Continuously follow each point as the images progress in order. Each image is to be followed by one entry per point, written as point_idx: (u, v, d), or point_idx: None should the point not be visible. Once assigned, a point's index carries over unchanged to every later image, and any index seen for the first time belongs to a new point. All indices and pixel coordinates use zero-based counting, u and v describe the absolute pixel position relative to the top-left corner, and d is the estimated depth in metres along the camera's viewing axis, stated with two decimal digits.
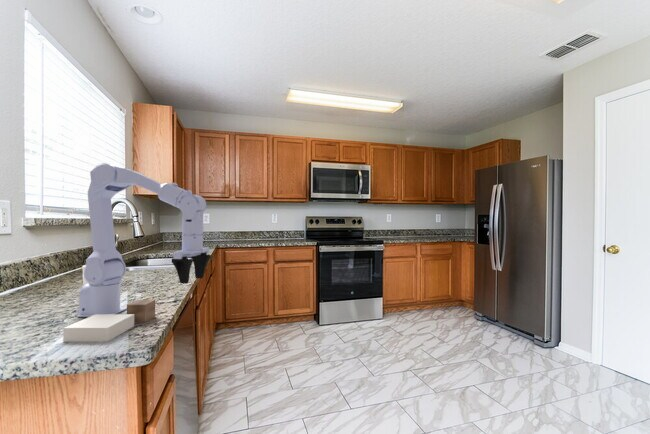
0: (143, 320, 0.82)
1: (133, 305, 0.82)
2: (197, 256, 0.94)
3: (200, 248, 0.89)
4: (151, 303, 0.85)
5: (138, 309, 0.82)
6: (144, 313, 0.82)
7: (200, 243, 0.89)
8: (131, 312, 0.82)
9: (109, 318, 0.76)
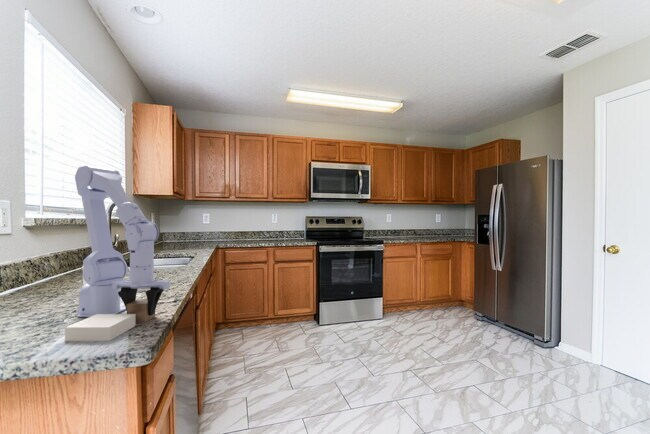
0: (143, 320, 0.82)
1: (133, 305, 0.82)
2: None
3: (134, 282, 0.81)
4: None
5: (138, 309, 0.82)
6: (144, 312, 0.82)
7: (134, 276, 0.82)
8: (131, 312, 0.82)
9: (110, 318, 0.76)
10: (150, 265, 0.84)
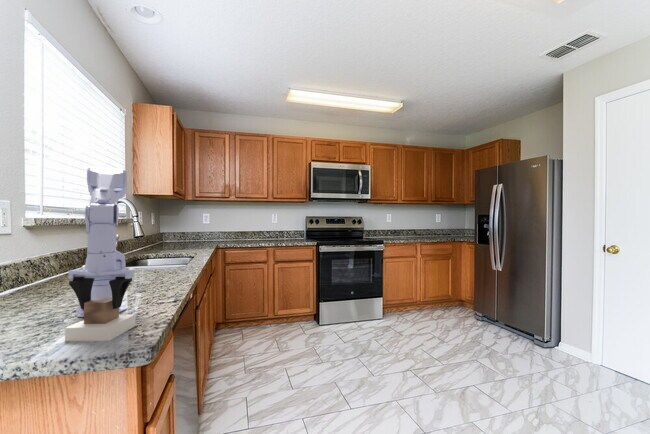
0: (103, 320, 0.72)
1: (91, 303, 0.72)
2: None
3: (91, 270, 0.71)
4: None
5: (97, 308, 0.72)
6: (104, 312, 0.72)
7: (91, 264, 0.71)
8: (89, 311, 0.72)
9: None
10: (111, 251, 0.74)
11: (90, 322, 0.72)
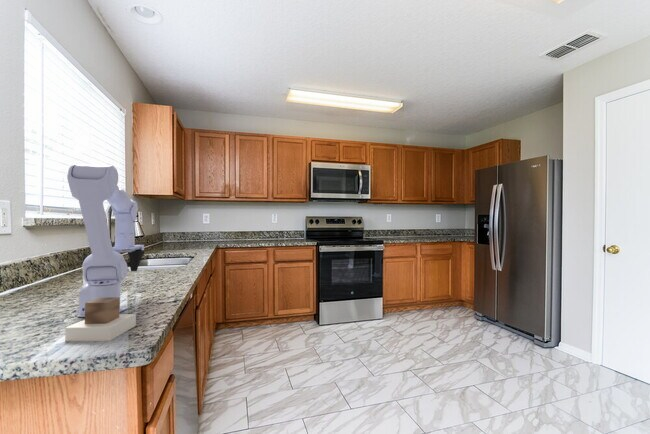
0: (104, 320, 0.72)
1: (93, 303, 0.72)
2: (132, 252, 1.09)
3: (130, 245, 1.04)
4: (114, 301, 0.75)
5: (99, 308, 0.72)
6: (106, 312, 0.72)
7: (130, 241, 1.04)
8: (90, 311, 0.72)
9: None
10: None
11: (91, 322, 0.72)
